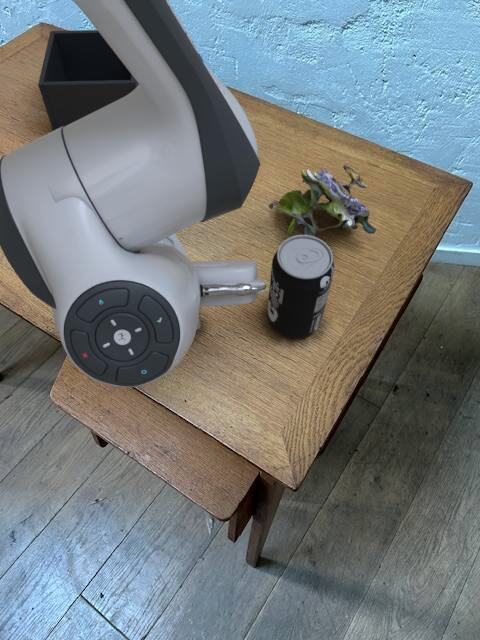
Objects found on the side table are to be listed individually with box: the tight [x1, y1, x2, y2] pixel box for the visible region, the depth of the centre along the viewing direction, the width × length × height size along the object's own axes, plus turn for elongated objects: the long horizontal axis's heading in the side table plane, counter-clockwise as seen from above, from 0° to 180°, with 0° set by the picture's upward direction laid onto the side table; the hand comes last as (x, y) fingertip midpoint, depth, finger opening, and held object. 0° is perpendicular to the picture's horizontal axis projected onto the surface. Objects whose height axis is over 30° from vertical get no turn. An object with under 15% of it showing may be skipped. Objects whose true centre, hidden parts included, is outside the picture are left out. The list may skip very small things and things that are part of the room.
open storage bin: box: [37, 29, 139, 131], centre depth 84 cm, size 13×13×9 cm
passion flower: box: [268, 164, 377, 239], centre depth 71 cm, size 11×11×12 cm
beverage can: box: [266, 234, 335, 340], centre depth 62 cm, size 7×7×12 cm
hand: (163, 273), depth 62 cm, fingers closed on ink box, 6 cm apart
